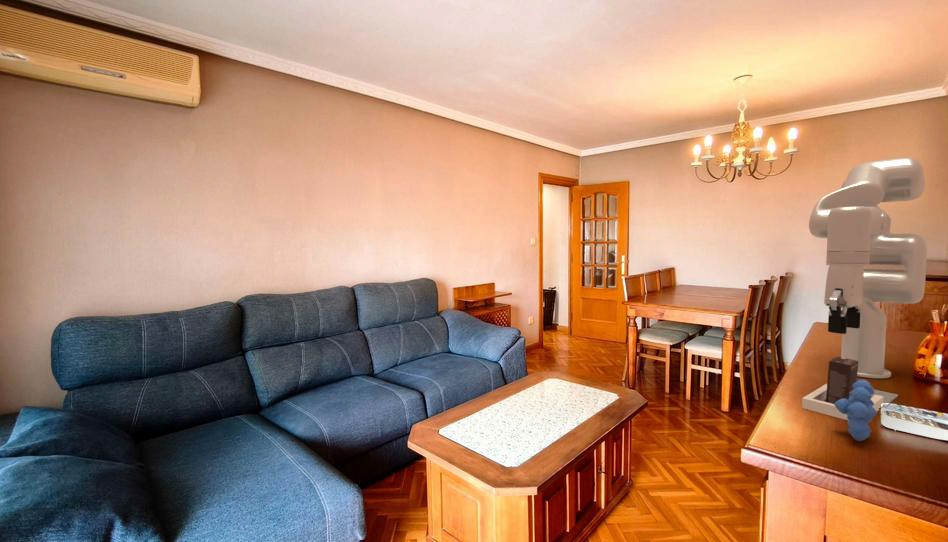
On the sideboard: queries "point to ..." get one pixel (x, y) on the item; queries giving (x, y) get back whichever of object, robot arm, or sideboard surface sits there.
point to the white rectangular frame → (817, 403)
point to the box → (841, 378)
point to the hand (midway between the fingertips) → (844, 330)
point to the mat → (885, 396)
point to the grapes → (858, 409)
